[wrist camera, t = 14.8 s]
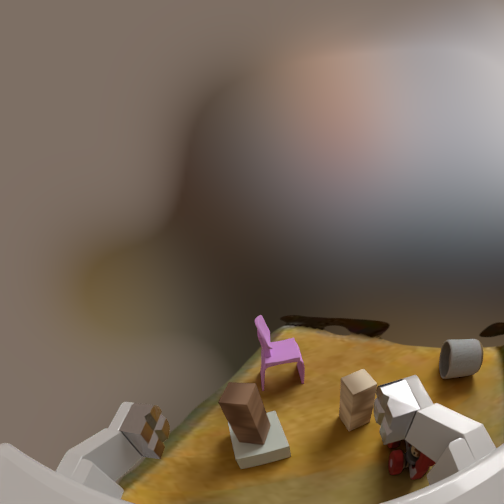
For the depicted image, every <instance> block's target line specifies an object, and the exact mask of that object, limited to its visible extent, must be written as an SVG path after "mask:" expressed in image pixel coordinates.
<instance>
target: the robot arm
mask: <svg viewBox="0 0 504 504" xmlns="http://www.w3.org/2000/svg"><path fill="white" fill-rule="evenodd" d="M376 395H377V398H376V399H375V400H374V416H375V420H376V423H378V424H379V425H381V428H380V431H379V432H380V435H381V438H382V441H383V444H384V445H385V444H389V443H392V442H396V441H399V440H402V439H405V440H406V441H407V442H409V443H410V444H411V445H413V446H414V447H415V448H417V449H418V450H419V451H421V452H422V453H423V454H425V455H426V456H428V457H429V458H430V459H432V460H433V461H434V462H436V463H435V465H434V466H433V467H432V469H431V470H430V471H429V473H428V474H427V478H428V481H429V484H430V486H427V487H425V488H422V489H420V490H418V491H415V492H412V493H410V494H407V495H404V496H402V497H399V498H396V499H393V500H390V501H387V502H383V503H380V504H504V444H502V445H501V446H499V447H498V448H496V447H495V445H494V444H493V442H492V440H491V438H490V436H489V435H488V433H487V431H486V429H485V428H484V426H483V424H481V423H478V422H476V421H474V420H472V419H470V418H467V417H465V416H463V415H461V414H459V413H457V412H454V411H452V410H450V409H448V408H446V407H444V406H442V405H440V404H438V403H435V404H433V402H432V401H431V399H430V397H429V395H428V394H427V392H426V390H425V388H424V387H423V385H422V383H421V382H420V380H419V378H418V377H417V376H416V375H414V376H410V377H407V378H404V379H400V380H397V381H393V382H390V383H387V384H383V385H380V386H378V387H377V389H376ZM161 412H162V411H161V409H160V408H159V406H155V405H147V404H139V403H131V402H124V403H123V404H121V406H120V408H119V409H118V411H117V413H116V415H115V417H114V419H113V420H112V422H111V424H110V426H109V428H108V429H107V428H105V429H103V430H102V431H100V432H98V433H97V434H95V435H94V436H92V437H90V438H89V439H87V440H85V441H83V442H82V443H80V444H78V445H77V446H75V447H73V448H72V449H70V450H68V451H67V452H66V454H65V456H64V457H63V459H62V461H61V463H60V464H59V466H58V468H57V470H56V471H53V470H51V469H50V468H48V467H46V466H44V465H42V464H41V463H39V462H37V461H36V460H34V459H32V458H31V457H29V456H27V455H26V454H24V453H23V452H21V451H20V450H18V449H17V448H15V447H14V446H12V445H11V444H9V443H3V444H0V504H134V503H131V502H127V501H124V500H121V496H122V494H123V489H122V488H121V487H120V486H119V485H118V484H117V483H115V481H116V480H118V479H119V478H120V477H121V476H122V475H123V474H125V473H126V472H127V471H128V470H129V469H130V468H131V467H132V466H134V465H135V464H136V463H137V462H138V461H139V460H140V459H141V458H142V456H143V457H150V458H156V459H161V456H162V454H163V451H164V448H165V446H164V444H163V442H164V441H165V440H166V439H168V436H169V430H170V428H169V423H168V421H167V419H166V418H165V417H164V416H162V415H161Z"/></svg>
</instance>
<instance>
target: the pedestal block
mask: <svg viewBox="0 0 504 504" xmlns="http://www.w3.org/2000/svg"><path fill="white" fill-rule="evenodd" d="M266 414H267V416H268V419H269V422H270V425H271V426H270V429H269V432H268V435H267V438H266V441H265V444H264V445H261V444H251V443H242V442H239V441H238V439H237V437H236V435H235V434H234V432H233V430H232V428H231V426H230V424H229V422H228V425H229V430H230V435H231V440H232V445H233V450H234V454H235V459H236V461H237V463H238V465H239V467H240V469H244V468H249V467H254V466H258V465H262V464H266V463H270V462H274V461H277V460H281V459H284V458H288V457H291V453H290V448H289V444H288V442H287V439H286V437H285V434H284V432H283V429H282V427H281V424H280V422H279V419H278V417H277V414H276V411H272V412H268V413H266Z"/></svg>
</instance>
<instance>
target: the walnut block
mask: <svg viewBox="0 0 504 504" xmlns="http://www.w3.org/2000/svg"><path fill="white" fill-rule="evenodd" d="M219 404H220V406H221V408H222V410H223V412H224V414H225V416H226V418H227V420H228V422H229V424H230V426H231V428H232V430H233V432H234V434H235V435H236V437H237V439H238V441H239V442H242V443H251V444H261V445H264V444H265V441H266V438H267V435H268V432H269V429H270V426H271V425H270V422H269V419H268V416H267V414H266V411H265V408H264V405H263V402H262V399H261V397H260V394H259V391H258V388H257V385H256V383H232V382H229V383H228V385H227V387H226V389H225V391H224V393H223V394H222V396H221V398H220V400H219Z"/></svg>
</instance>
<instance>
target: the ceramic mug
mask: <svg viewBox="0 0 504 504" xmlns="http://www.w3.org/2000/svg"><path fill="white" fill-rule="evenodd" d="M482 361H483V347H482V344H481V343H480V341H478V340H475V339H465V340H446V341H445V342H444V343H443V346H442V348H441V353H440V361H439V369H440V375H441V377H442V378H443V379H448V378H456V377H462V376H469V375H473V374H475V373H477V372H478V370H479V369H480V367H481V365H482Z"/></svg>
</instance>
